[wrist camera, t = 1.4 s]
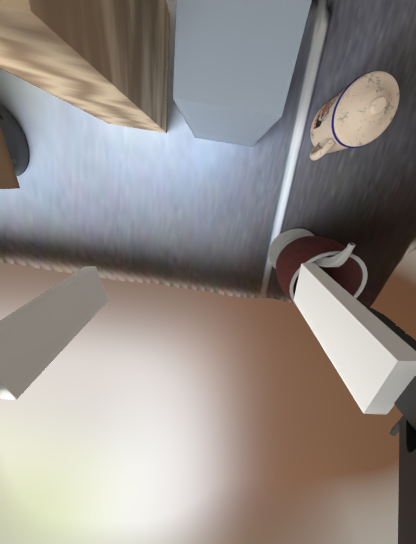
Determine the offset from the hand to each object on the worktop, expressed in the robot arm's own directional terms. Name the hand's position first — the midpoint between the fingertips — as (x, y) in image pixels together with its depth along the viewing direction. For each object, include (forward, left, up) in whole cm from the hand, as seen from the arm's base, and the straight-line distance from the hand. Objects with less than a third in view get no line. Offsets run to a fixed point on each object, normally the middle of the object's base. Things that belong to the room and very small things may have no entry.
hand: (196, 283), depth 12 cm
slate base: (0, +21, -36) cm, 41 cm away
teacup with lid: (+20, +17, -36) cm, 45 cm away
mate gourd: (+22, -7, -36) cm, 43 cm away
